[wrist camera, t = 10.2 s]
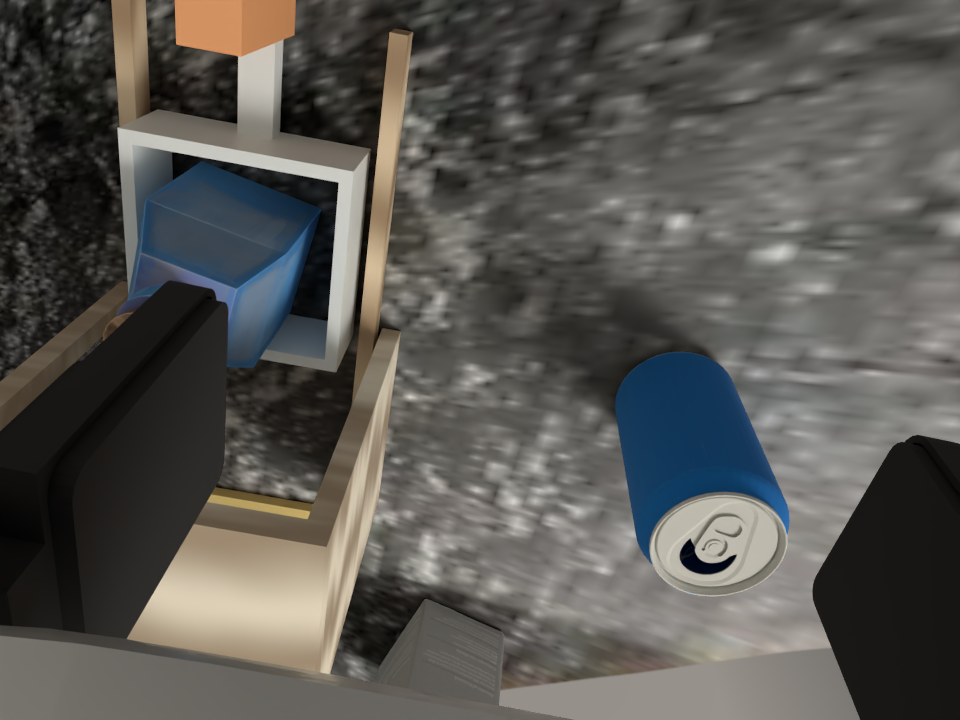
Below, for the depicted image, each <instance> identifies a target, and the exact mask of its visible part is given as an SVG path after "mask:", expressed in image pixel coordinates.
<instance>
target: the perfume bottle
mask: <svg viewBox="0 0 960 720" xmlns="http://www.w3.org/2000/svg"><path fill="white" fill-rule="evenodd" d="M321 210H322V209H321V208H318V207H316V206H313V205H311V204H308V203H306V202H303V201H301V200H298V199H296V198H293V197H291V196H288V195H286V194H283V193H281V192H278V191H276V190H273V189H271V188H268V187H266V186H263V185H261V184H258V183H256V182H253V181H251V180H248V179H246V178H243V177H241V176H238V175H236V174H233V173H231V172H228V171H226V170H223V169H221V168H218V167H215V166H213V165H210V164H208V163H205V162H203V161H201V162H200V163H198V164H197V165H195V166H194V167H192V168H191V169H189V170H188V171H186V172H185V173H183V174H182V175H180V176H179V177H178V178H176V179H175V180H173V181H172V182H170V183H169V184H167V185H166V186H164V187H163V188H161V189H160V190H158V191H157V192H155V193H154V194H152V195H151V196H149V197H148V198H146V200H145V205H144V211H143V216H142V222H141V227H140V233H139V239H138V244H137V250H136V255H135V261H134V266H133V272H132V277H131V283H130V288H129V294H128V299H127V301H126V302H125V303H124V304H123V305H122V306H121V307H120V308H119V310H118V312H117V315H116V317H114V318H113V319H112V320H111V321H110V322H109V323H108V324H107V326H106V328H105V331H104V333H103V341H104V340H105V339H106V338H107V337H108V336H109V335H110V334H111V333H112V332H113V331H115V330H116V329H117V328H118V327H119V326H120V325H121V324H122V323H123V322H124V321H125V320H126V319H127V318H128V317H129V316H130V315H131V314H133V313H134V312H135V311H136V310H137V309H138V308H139V307H140V306H141V305H142V304H143V303H144V302H145V301H146V300H147V299H148V298H150V297H151V296H152V295H153V294H154V293H155V292H156V291H157V290H158V289H159V288H160V287H161V286H162V285H163V284H164V283H166V282H167V281H169V280H172V281H177V282H182V283H187V284H192V285H196V286H201V287H206V288H211V289H213V290H214V292H215V294H216V299H217V301H222V302H226V304H227V306H228V349H227V367H243V368H254V367H255V365H256V364H257V362H258V361H259V359H260V357H261V356H262V354H263V353H264V351H265V350H266V348H267V347H268V345H269V344H270V342H271V341H272V339H273V338H274V336H275V334H276V333H277V331H278V330H279V328H280V327H281V325H282V324H283V322H284V321H285V319H286V318H287V316H288V314H289V313H290V311H291V308H292V305H293V302H294V299H295V295H296V292H297V289H298V286H299V282H300V279H301V276H302V272H303V269H304V266H305V263H306V259H307V256H308V253H309V249H310V246H311V243H312V240H313V236H314V233H315V230H316V227H317V223H318V220H319V217H320V213H321Z"/></svg>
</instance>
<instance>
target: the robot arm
mask: <svg viewBox="0 0 960 720" xmlns="http://www.w3.org/2000/svg"><path fill="white" fill-rule="evenodd" d="M227 349H228V306H227V304H226V302H222V301H217V299H216V294H215V292H214V290H213V289H211V288H206V287H201V286H196V285H192V284H187V283H182V282H177V281H172V280H169V281H167V282H166V283H164V284H163V285H162V286H161V287H160V288H159V289H158V290H157V291H156V292H155V293H154V294H153V295H152V296H151V297H150V298H148V299H147V300H146V301H145V302H144V303H143V304H142V305H141V306H140V307H139V308H138V309H137V310H136V311H135V312H134V313H133V314H131V315H130V316H129V317H128V318H127V319H126V320H125V321H124V322H123V323H122V324H121V325H120V326H119V327H118V328H117V329H116V330H115V331H113V332H112V333H111V334H110V335H109V336H108V337H107V338H106V339H105V340H104V341H103V342H102V343H101V344H100V345H99V346H98V347H97V348H95V349H94V350H93V351H92V352H91V353H90V354H89V355H88V356H87V357H86V358H85V359H84V360H83V361H78V362H76V363H75V364H73V365H72V366H70V367H69V368H68V369H67V370H66V371H65V372H64V373H62V374H61V375H60V376H59V377H58V378H57V379H56V380H55V381H54V382H53V383H52V384H51V385H50V386H48V387H47V388H46V389H45V390H44V391H43V392H42V393H41V394H40V395H39V396H38V397H37V398H36V399H35V400H33V401H32V402H31V403H30V404H29V405H28V406H27V407H26V408H25V409H24V410H23V411H22V412H21V413H19V414H18V415H17V416H16V417H15V418H14V419H13V420H12V421H11V422H10V423H9V424H8V425H7V426H6V427H4V428H3V429H2V430H1V431H0V720H571V719H567V718H561V717H556V716H551V715H546V714H540V713H535V712H529V711H525V710H519V709H514V708H509V707H503V706H498V705H493V704H488V703H482V702H477V701H471V700H466V699H461V698H455V697H450V696H444V695H439V694H434V693H428V692H423V691H417V690H412V689H407V688H401V687H396V686H390V685H385V684H380V683H374V682H369V681H363V680H358V679H353V678H347V677H342V676H337V675H331V674H326V673H320V672H315V671H310V670H304V669H299V668H293V667H288V666H283V665H277V664H271V663H266V662H260V661H254V660H248V659H242V658H236V657H230V656H224V655H219V654H213V653H207V652H201V651H195V650H189V649H183V648H178V647H172V646H166V645H160V644H153V643H147V642H141V641H135V640H129V639H127V637H128V636H129V634H130V632H131V631H132V629H133V627H134V626H135V624H136V622H137V620H138V619H139V617H140V615H141V614H142V612H143V610H144V608H145V607H146V605H147V603H148V602H149V600H150V598H151V596H152V595H153V593H154V591H155V590H156V588H157V586H158V584H159V583H160V581H161V579H162V578H163V576H164V574H165V573H166V571H167V569H168V567H169V566H170V564H171V562H172V561H173V559H174V557H175V555H176V554H177V552H178V550H179V549H180V547H181V545H182V543H183V542H184V540H185V538H186V537H187V535H188V533H189V531H190V530H191V528H192V526H193V525H194V523H195V521H196V520H197V518H198V516H199V514H200V513H201V511H202V509H203V508H204V506H205V504H206V502H207V501H208V499H209V497H210V496H211V494H212V492H213V490H214V489H215V487H216V485H217V483H218V481H219V479H220V476H221V473H222V469H223V464H224V452H225V418H226V384H227ZM813 601H814V604H815V607H816V609H817V612H818V614H819V617H820V619H821V622H822V624H823V627H824V629H825V632H826V634H827V637H828V640H829V642H830V645H831V647H832V650H833V652H834V655H835V657H836V660H837V662H838V665H839V667H840V669H841V672H842V675H843V677H844V680H845V682H846V685H847V687H848V690H849V692H850V695H851V697H852V700H853V702H854V705H855V707H856V710H857V712H858V715H859V717H860V720H960V444H958V443H954V442H949V441H945V440H940V439H935V438H930V437H925V436H920V435H916V436H912V437H910V438H909V439H907V440H906V441H905V443H904V442H900V443H897V444H896V445H894V446H893V447H892V449H891V450H890V451H889V453H888V455H887V456H886V458H885V460H884V461H883V463H882V465H881V467H880V468H879V470H878V472H877V473H876V475H875V477H874V478H873V480H872V482H871V484H870V485H869V487H868V489H867V490H866V492H865V494H864V495H863V497H862V499H861V501H860V502H859V504H858V506H857V507H856V509H855V511H854V512H853V514H852V516H851V518H850V519H849V521H848V523H847V524H846V526H845V528H844V529H843V531H842V533H841V535H840V536H839V538H838V540H837V541H836V543H835V545H834V546H833V548H832V550H831V552H830V553H829V555H828V557H827V558H826V560H825V562H824V563H823V565H822V567H821V569H820V570H819V572H818V574H817V575H816V578H815V580H814V584H813Z"/></svg>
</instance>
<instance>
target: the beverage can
mask: <svg viewBox="0 0 960 720" xmlns="http://www.w3.org/2000/svg"><path fill="white" fill-rule="evenodd" d="M615 412H616V418H617V424H618V430H619V436H620V442H621V448H622V454H623V460H624V466H625V472H626V478H627V484H628V490H629V496H630V502H631V508H632V513H633V519H634V525H635V531H636V537H637V541H638V544H639V547H640V548H641V550H642V552H643V554H644V555H645V557H646V558H647V559H648V560H649V562H650V563H651V564H652V565H653V566H654V568H655V570H656V572H657V573H658V574H659V575H660V577H661V578H662V579H663V580H664V581H666V582H667V583H668V584H670V585H671V586H673V587H675V588H677V589H679V590H681V591H684V592H686V593H690V594H694V595H700V596H724V595H730V594H735V593H739V592H742V591H745V590H747V589H750V588H752V587H754V586H756V585H758V584H759V583H761V582H762V581H764V580H765V579H767V578H768V577H769V576H770V575H771V574H772V573H773V572H774V571H775V570H776V569H777V568H778V566H779V565H780V563H781V562H782V560H783V558H784V556H785V552H786V549H787V533H788V529H789V511H788V507H787V504H786V501H785V499H784V497H783V495H782V492H781V490H780V488H779V486H778V483H777V481H776V479H775V476H774V474H773V472H772V470H771V467H770V465H769V463H768V461H767V458H766V456H765V454H764V452H763V449H762V447H761V445H760V443H759V440H758V438H757V436H756V434H755V431H754V429H753V427H752V424H751V422H750V420H749V418H748V415H747V413H746V411H745V409H744V406H743V404H742V402H741V400H740V397H739V395H738V393H737V391H736V388H735V386H734V384H733V382H732V379H731V378H730V376H729V374H728V373H727V372H726V371H725V370H724V368H723V367H721V366H720V365H719V364H718V363H717V362H715V361H713V360H712V359H710V358H708V357H705V356H703V355H700V354H696V353H691V352H670V353H664V354H661V355H657V356H654V357H652V358H649V359H647V360H646V361H644V362H642V363H641V364H639V365H638V366H636V367H635V368H634V369H633V370H632V371H631V372H630V373H629V374H628V375H627V376H626V377H625V379H624V380H623V382H622V383H621V385H620V387H619V389H618V392H617V395H616V401H615Z"/></svg>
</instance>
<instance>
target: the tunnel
mask: <svg viewBox="0 0 960 720" xmlns="http://www.w3.org/2000/svg"><path fill="white" fill-rule="evenodd" d="M127 299H128V282H124V281H121V282H120V283H118V284H117V285H116V286H115V287H114V288H112V289H111V290H110V291H109V292H108V293H106V294H105V295H104V296H103V297H102V298H100V299H99V300H98V301H97V302H96V303H94V304H93V305H92V306H91V307H90V308H88V309H87V310H86V311H85V312H84V313H82V314H81V315H80V316H79V317H78V318H76V319H75V320H74V321H73V322H72V323H70V324H69V325H68V326H67V327H66V328H64V329H63V330H62V331H61V332H60V333H58V334H57V335H56V336H55V337H53V338H52V339H51V340H50V341H49V342H47V343H46V344H45V345H44V346H43V347H41V348H40V349H39V350H38V351H37V352H35V353H34V354H33V355H32V356H31V357H29V358H28V359H27V360H26V361H25V362H23V363H22V364H21V365H20V366H19V367H17V368H16V369H15V370H14V371H13V372H11V373H10V374H9V375H8V376H7V377H5V378H4V379H3V380H2V381H1V382H0V431H1V430H2V429H3V428H4V427H5V426H6V425H7V424H8V423H9V422H10V421H11V420H12V419H14V418H15V417H16V416H17V415H18V414H19V413H20V412H21V411H22V410H23V409H24V408H25V407H27V406H28V405H29V404H30V403H31V402H32V401H33V400H34V399H35V398H36V397H37V396H39V395H40V394H41V393H42V392H43V391H44V390H45V389H46V388H47V387H48V386H49V385H50V384H52V383H53V382H54V381H55V380H56V379H57V378H58V377H59V376H60V375H61V374H62V373H63V372H65V371H66V370H67V369H68V368H69V367H70V366H71V365H72V364H73V363H74V362H75V361H76V360H78V359H79V358H80V357H81V356H82V355H83V354H84V353H85V352H86V351H87V350H88V349H89V348H91V347H92V346H93V345H94V344H95V343H96V342H97V341H98V340H99V339H100V338H101V337H102V336H103V333H104V331H105V328H106V326H107V324H108V323H109V322H110V321H111V320H112V319H113V318H114V317H116V315H117V312H118V310H119V308H120V307H121V306H122V305H123V304H124V303H125V302H126V301H127ZM400 332H401V331H396V330H391V329H385V328H382V330H381V333H380V336H379V338H378V341H377V343H376V346H375V348H374V351H373V353H372V356H371V358H370V361H369V364H368V366H367V369H366V371H365V374H364V376H363V379H362V381H361V384H360V387H359V389H358V392H357V394H356V397H355V399H354V402H353V404H352V407H351V409H350V412H349V415H348V417H347V420H346V422H345V425H344V427H343V430H342V432H341V435H340V438H339V440H338V443H337V445H336V448H335V450H334V453H333V455H332V458H331V461H330V463H329V466H328V468H327V471H326V473H325V476H324V478H323V481H322V483H321V486H320V489H319V491H318V494H317V496H316V499H315V501H314V504H313V506H312V509H311V512H310V514H309V517H308V519H303V518H297V517H291V516H286V515H280V514H274V513H268V512H263V511H257V510H251V509H245V508H239V507H234V506H228V505H222V504H216V503H211V502H206V504H205V506H204V508H203V509H202V511H201V513H200V514H199V516H198V518H197V520H196V521H195V523H194V525H193V526H192V528H191V530H190V531H189V533H188V535H187V537H186V538H185V540H184V542H183V543H182V545H181V547H180V549H179V550H178V552H177V554H176V555H175V557H174V559H173V561H172V562H171V564H170V566H169V567H168V569H167V571H166V573H165V574H164V576H163V578H162V579H161V581H160V583H159V584H158V586H157V588H156V590H155V591H154V593H153V595H152V596H151V598H150V600H149V602H148V603H147V605H146V607H145V608H144V610H143V612H142V614H141V615H140V617H139V619H138V620H137V622H136V624H135V626H134V627H133V629H132V631H131V632H130V634H129V636H128V637H127V639H129V640H135V641H141V642H147V643H153V644H160V645H166V646H172V647H178V648H183V649H189V650H195V651H201V652H207V653H213V654H219V655H224V656H230V657H236V658H242V659H248V660H254V661H260V662H266V663H271V664H277V665H283V666H288V667H293V668H299V669H304V670H310V671H315V672H320V673H326V674H330V672H331V668H332V664H333V661H334V657H335V654H336V650H337V647H338V643H339V639H340V636H341V632H342V629H343V625H344V621H345V618H346V614H347V611H348V607H349V604H350V600H351V596H352V593H353V589H354V586H355V582H356V579H357V575H358V571H359V568H360V564H361V561H362V557H363V553H364V550H365V546H366V543H367V539H368V536H369V532H370V528H371V525H372V521H373V518H374V514H375V511H376V507H377V503H378V499H379V491H380V484H381V476H382V469H383V461H384V453H385V446H386V438H387V431H388V423H389V416H390V408H391V401H392V393H393V385H394V378H395V370H396V363H397V355H398V348H399V340H400Z"/></svg>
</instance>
